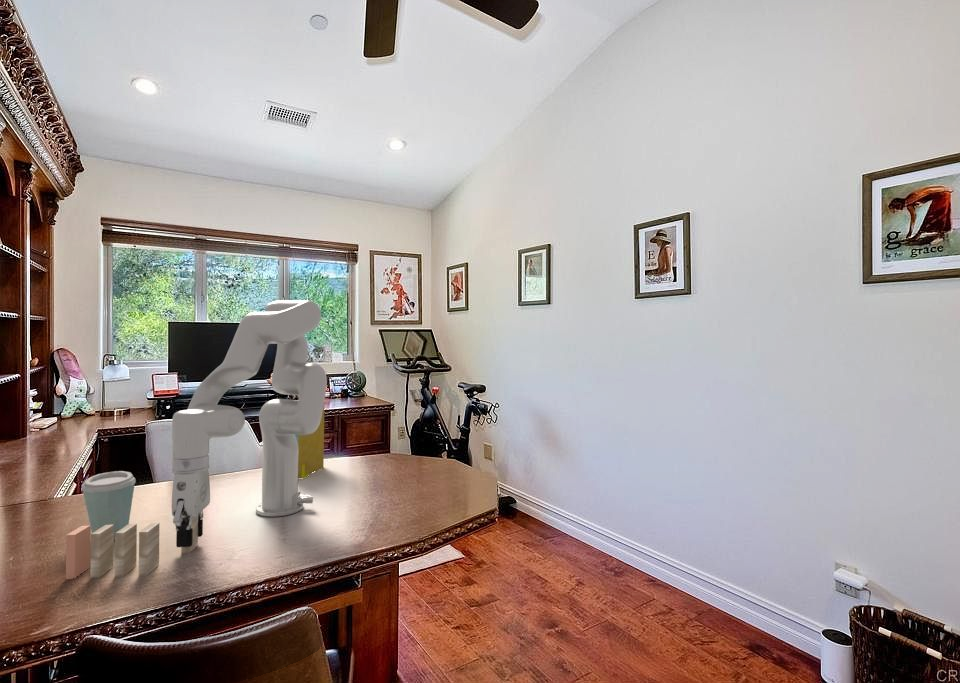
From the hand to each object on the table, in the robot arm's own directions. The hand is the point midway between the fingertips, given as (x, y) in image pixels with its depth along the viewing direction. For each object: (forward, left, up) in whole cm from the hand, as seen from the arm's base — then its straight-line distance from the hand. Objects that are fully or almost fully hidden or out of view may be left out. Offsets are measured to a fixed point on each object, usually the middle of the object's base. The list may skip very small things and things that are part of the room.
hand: (189, 540), depth 115 cm
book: (-14, -65, -2) cm, 67 cm away
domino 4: (+4, +10, -2) cm, 11 cm away
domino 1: (+17, +10, -2) cm, 20 cm away
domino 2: (+13, +10, -2) cm, 17 cm away
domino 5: (0, 0, -2) cm, 2 cm away
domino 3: (+8, +10, -2) cm, 13 cm away
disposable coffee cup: (+22, -9, -2) cm, 24 cm away
